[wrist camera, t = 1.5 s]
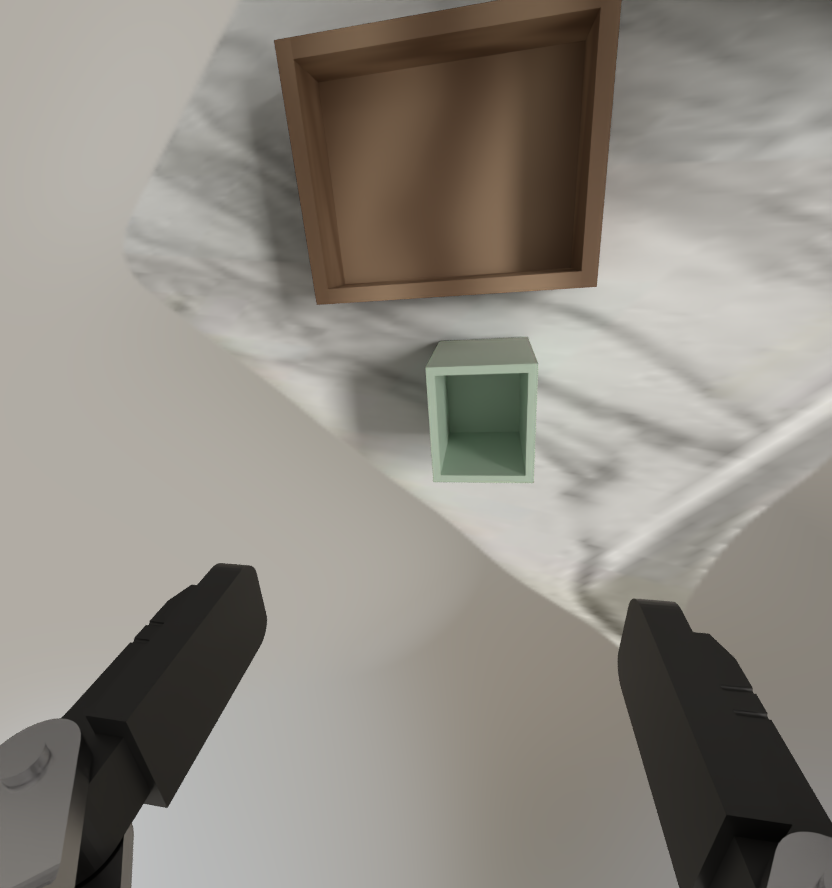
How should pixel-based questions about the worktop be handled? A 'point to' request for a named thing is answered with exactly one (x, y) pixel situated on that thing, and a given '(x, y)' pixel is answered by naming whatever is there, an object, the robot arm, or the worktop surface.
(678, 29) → the worktop surface
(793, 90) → the worktop surface
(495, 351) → the small crate
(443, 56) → the big crate
